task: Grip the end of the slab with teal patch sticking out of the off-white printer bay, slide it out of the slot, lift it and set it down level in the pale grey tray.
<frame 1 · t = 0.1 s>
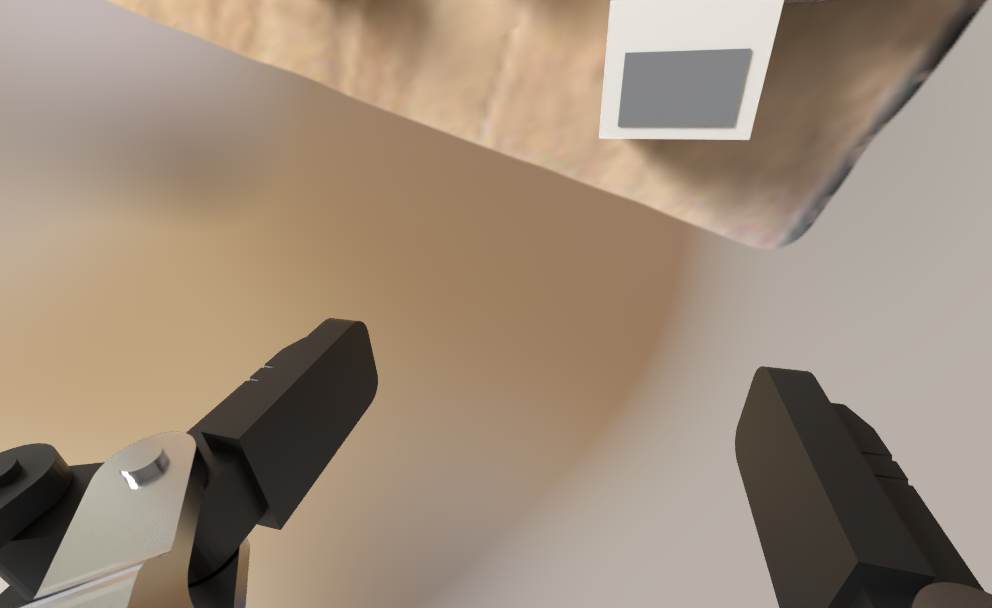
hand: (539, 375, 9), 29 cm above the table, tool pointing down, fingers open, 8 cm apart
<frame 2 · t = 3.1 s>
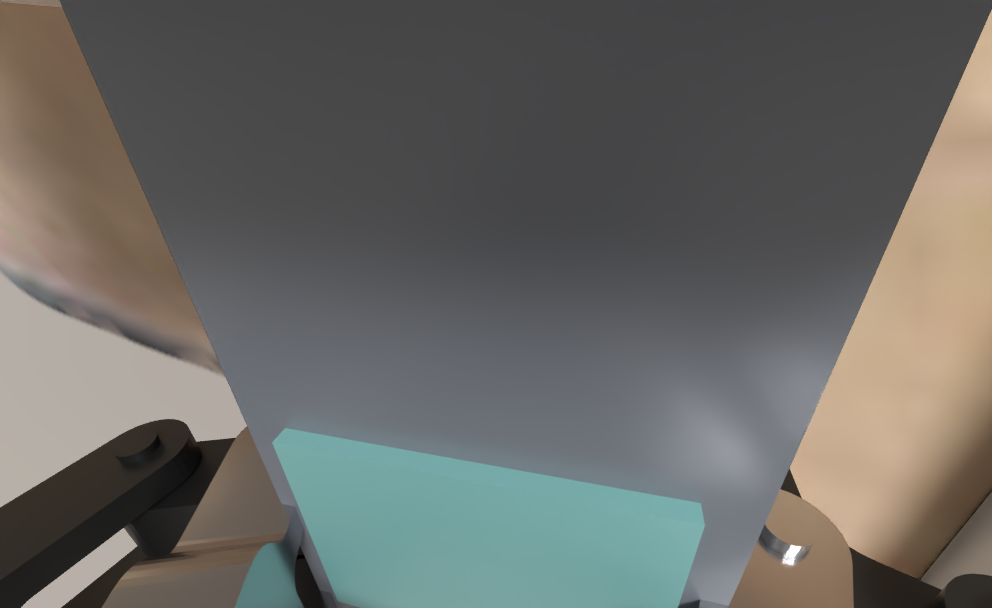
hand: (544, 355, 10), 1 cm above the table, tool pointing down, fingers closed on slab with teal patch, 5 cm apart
slab with teal patch: (555, 161, 8), on the table, touching gripper
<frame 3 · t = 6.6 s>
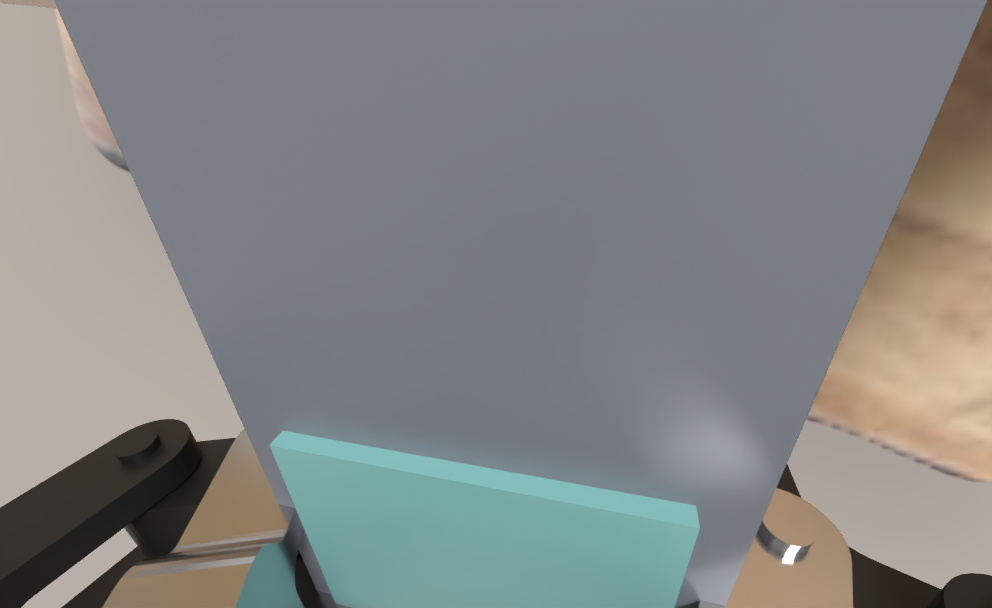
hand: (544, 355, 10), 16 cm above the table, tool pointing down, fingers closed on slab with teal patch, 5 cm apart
slab with teal patch: (553, 163, 8), point 15 cm above the table, touching gripper
when the fingers open (3 cm above the table, at t = 9.9 s): slab with teal patch drops 1 cm, resting on tray.
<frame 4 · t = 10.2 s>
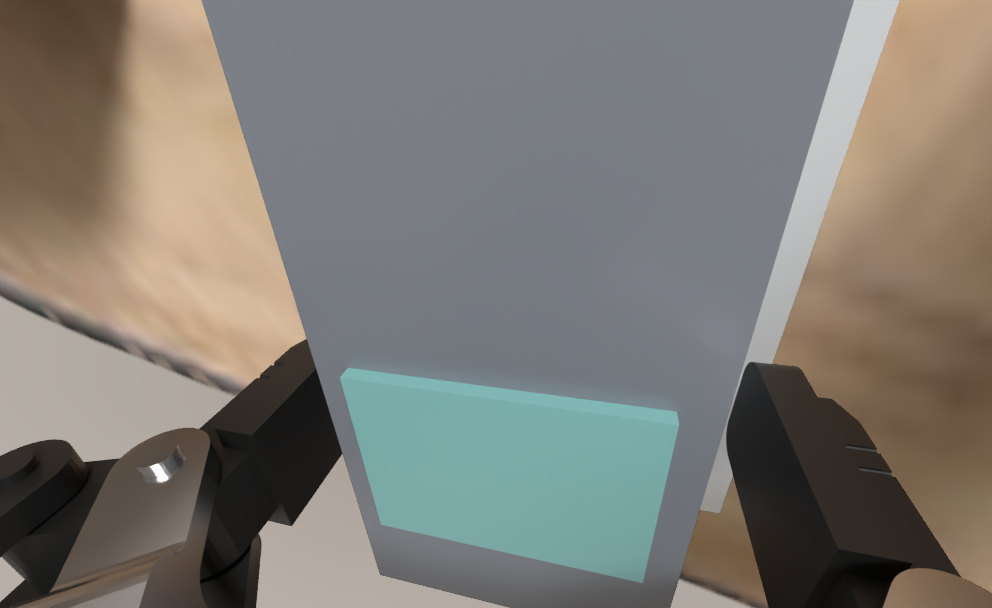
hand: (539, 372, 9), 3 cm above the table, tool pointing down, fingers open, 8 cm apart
slab with teal patch: (560, 156, 9), point 1 cm above the table, touching tray
tray: (564, 148, 10), on the table
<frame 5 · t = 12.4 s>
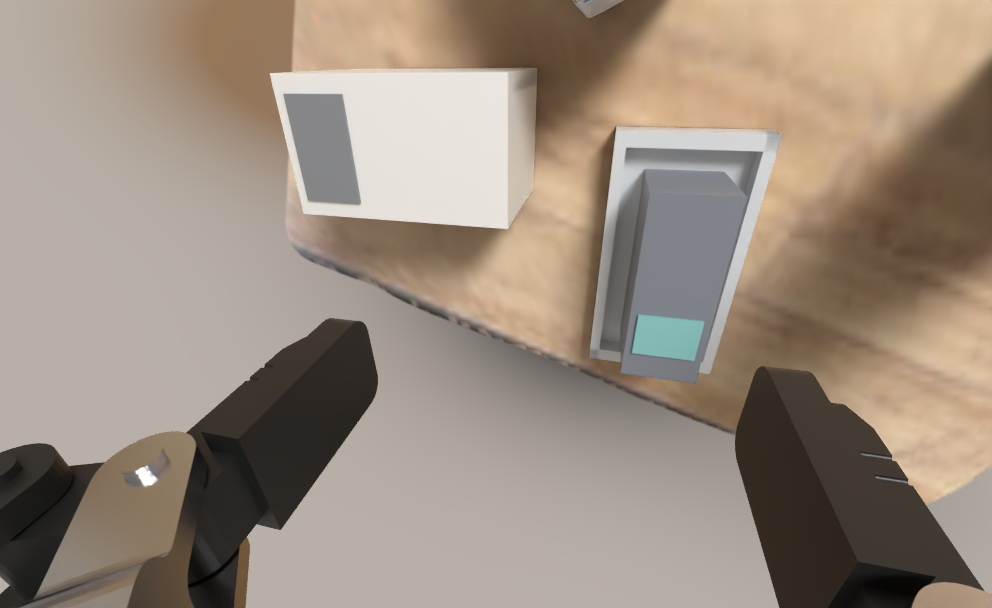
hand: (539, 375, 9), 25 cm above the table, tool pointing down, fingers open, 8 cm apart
printer bay: (477, 130, 31), on the table
slab with teal patch: (666, 259, 32), point 1 cm above the table, touching tray
tray: (665, 255, 32), on the table
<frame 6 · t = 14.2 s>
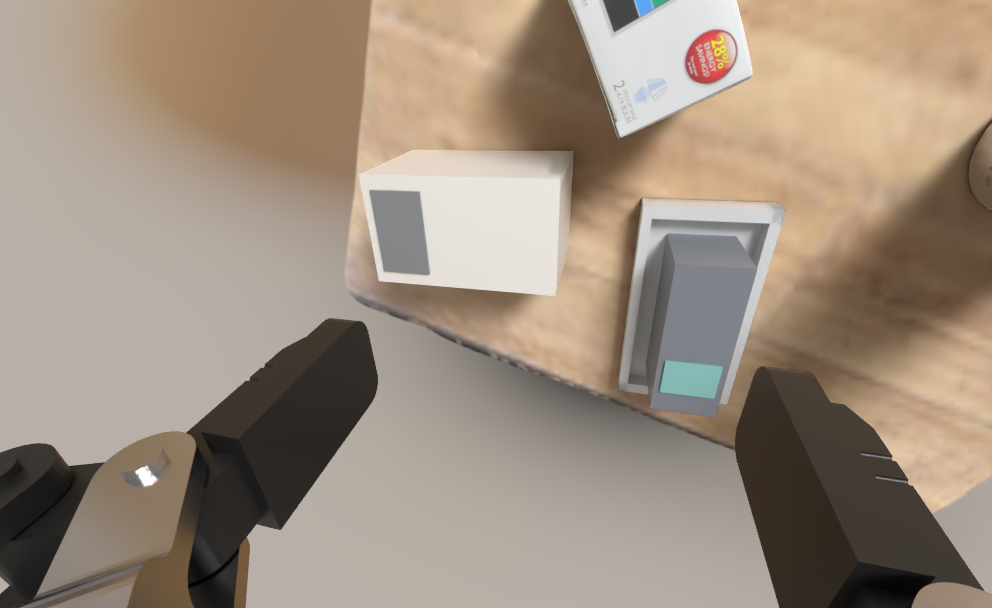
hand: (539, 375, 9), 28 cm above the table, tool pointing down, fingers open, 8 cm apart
printer bay: (520, 200, 36), on the table
light bulb box: (638, 16, 29), on the table
slab with teal patch: (686, 306, 37), point 1 cm above the table, touching tray
tray: (685, 302, 37), on the table
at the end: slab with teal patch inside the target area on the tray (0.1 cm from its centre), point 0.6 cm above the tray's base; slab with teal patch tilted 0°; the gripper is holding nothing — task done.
